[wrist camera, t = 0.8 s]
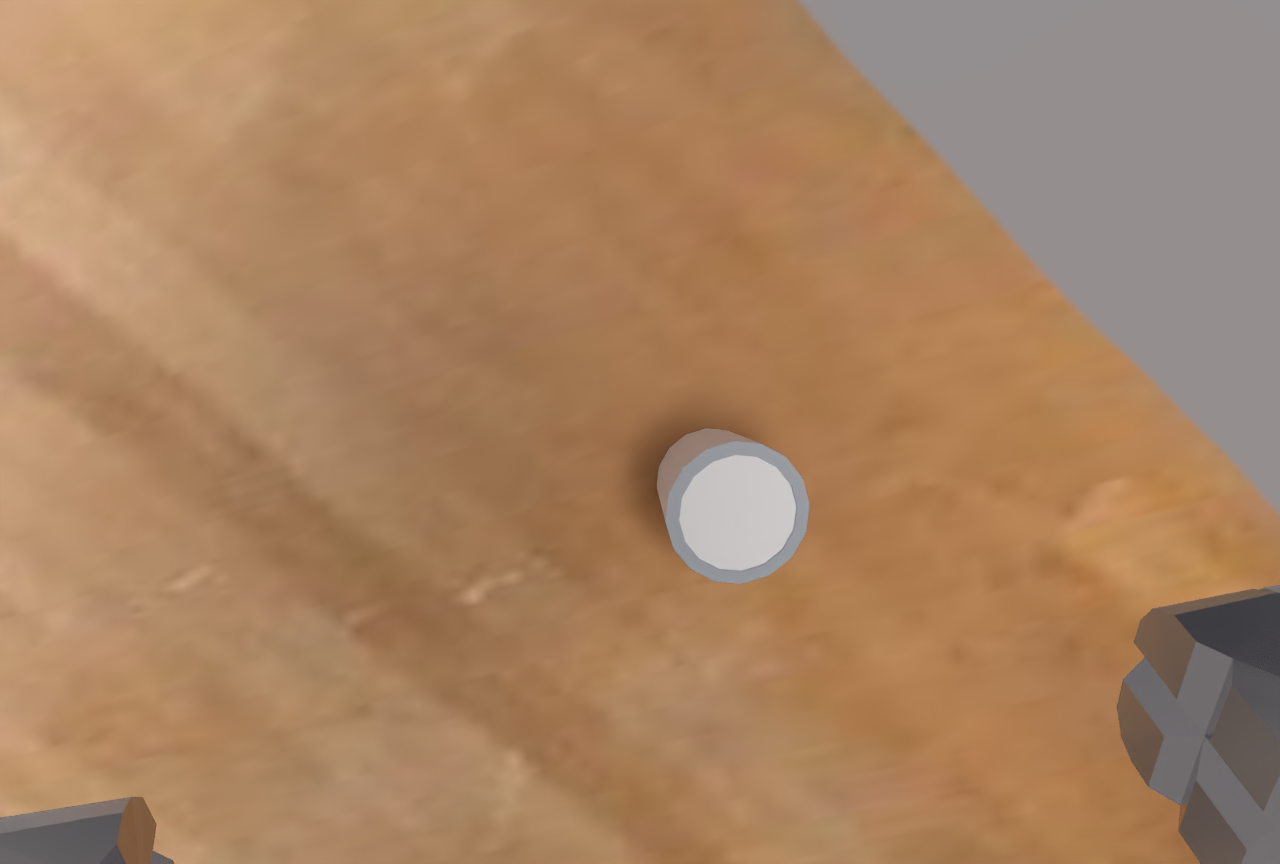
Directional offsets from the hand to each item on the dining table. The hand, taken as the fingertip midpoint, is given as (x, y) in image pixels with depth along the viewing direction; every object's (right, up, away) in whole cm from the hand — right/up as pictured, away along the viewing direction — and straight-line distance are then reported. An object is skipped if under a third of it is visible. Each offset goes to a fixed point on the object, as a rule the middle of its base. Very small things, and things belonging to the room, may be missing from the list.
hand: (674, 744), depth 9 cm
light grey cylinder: (+3, 0, +52) cm, 52 cm away
